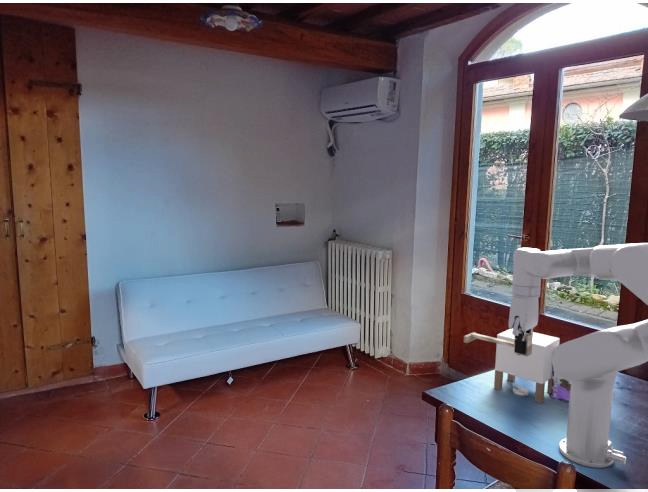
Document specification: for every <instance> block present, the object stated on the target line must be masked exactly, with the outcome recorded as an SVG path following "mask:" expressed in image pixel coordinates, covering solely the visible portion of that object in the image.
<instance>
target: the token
mask: <svg viewBox="0 0 648 492" xmlns="http://www.w3.org/2000/svg"><path fill="white" fill-rule="evenodd" d="M512 392H513V394H514V395H515V396H520V397H527V396H529V394H530V393H529V392H530V391H529V389H528V388H525V387H520V386H515V387H513V388H512Z"/></svg>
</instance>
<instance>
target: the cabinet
mask: <svg viewBox="0 0 648 492" xmlns="http://www.w3.org/2000/svg"><path fill="white" fill-rule="evenodd" d="M512 331H513V329H510V328H509V329H506V330H505V331H502V332H499V333H498V334H496V336H497V337H496V338H498V339H502V340H506V341H510V342H514V337H515V336H514V335H513V334H512ZM559 345H560V337H557V336H552V335H547V334H544V333H539V332H534V331H533V337H532V354H531V355H529V356H523V355H519V354H515V353H514V347H510V346H506V345H502V344H498V343H496V349H495V351H496V352H495V366H494V379H493V380H494V381H493V382H494V383H493V388H494V387H495V388H494V389H496V388H498V389H497V390H499V389H500V390H502V389H503V383H504V382H503V381H504V373H505V374H507V381H511V382H514V381H515V380H516V377H518V378H521V379H525V380H527V381H531V382H533V383H535V394H534V402H536V403H539V404H543V402H544V399H545V384H546V382H547V390H546V393H549V394H551V391H552V378H553V364H552V356H553V353H554V351H555V349H556V348H557V347H558V346H559Z"/></svg>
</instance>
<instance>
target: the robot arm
mask: <svg viewBox="0 0 648 492" xmlns="http://www.w3.org/2000/svg"><path fill="white" fill-rule="evenodd" d="M512 270H513V273H512V286H511V287H512V288H511V289H512V292H511V295H512V297H511V302H510V306H509V315H508V316H509V317H508V328H509V329H513V331H512V334H513V335H514V336H515V352H516V353H520V354H524V355H525V354H526V345H527V341H525V339H526V333H529V334H533V332H534V329H535V327H536V326H538V324H539V323H538V322H539V305H540V304H539V298H540V297H541V286H542V283H541V282H542V279H543V280H548V279H555V278H564V277H576V276H579V277H580V276H582V277H583V276H593V277H595V278H596V279H598V280H602V281H619V282H620V283H621V284H622V285H623V286H624V287H625V288H627V289H628V290H629V291H630V292H631V293H633V294H634V295H635V296H636V297H637V298H638V299H640V300H641V301H642V302H643V303H644V304H645V305H647V306H648V242H639V243H638V242H637V243H623V244H608V245H607V244H605V245H596V246H594V247H585V248H568V249H555V250H554V249H553V250H545V251H541V249H539V248H536V247H535V248H532V247H519V248H516V249H515V251H514V253H513V269H512ZM519 332H522V333H523V334H521V333H519ZM532 337H533V336H532ZM647 362H648V318H647V319H645V320H642V321H638V322H635V323H630V324H624V325H617V326H614V327H608V328H603V329H601V330H597V331H594V332H591V333H589V334H585V335H582V336H580V337H577V338H574V339H571V340H568V341H565V342H563V343H560V344H559V346H558V347H557V348H556V349H555V351H554V353H553V356H552V364H553V367H554V369H555V371H556V372H557V373H558V374H559V375H560V376H561V377H563V378H564V379H566V380H569V381H572V383H571V389H570V400H569V402H568V411H567V412H568V414H567V423H566V425H567V426H566V437H565V438H563V439H561V440H560V441H559V443H558V447H559V448H558V450H559V451H560V453H561V454H562V455H563V456H564V457H565V458H566V459H568V460H570V461H571V462H573V463H575V464H579V465H582V466H585V467H590V468H595V469H596V468H598V469H601V468H603V469H604V468H607V467H610V466H612V465H613V463H614V461H615V462H617V463H618V464H621V465H626V463H627V456H625V455H624V451H621V450H620V449H619V450H618V449H615V448H614V447H612V444H613V443H612V441H611V440H609V437H610V436H609V435H610V426H611V417H612V407H613V405H612V404H613V396H614V389H615V383H616V379H617V377H618V373H619V372H621V371H624V370H629V369H631V368H634V367H637V366H641V365H643V364H645V363H647Z"/></svg>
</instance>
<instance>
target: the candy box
mask: <svg viewBox="0 0 648 492" xmlns="http://www.w3.org/2000/svg"><path fill="white" fill-rule="evenodd" d="M571 383H572V381H569V380H566V379H564V378H563V377H561V376H560V375H559V374H558V373H557V372H556V371H555V369H554V367H553V378H552V391H551V393H550V397H551V398H552V399H555V400H560V401H563V402H566V403H569V400H570V389H571Z"/></svg>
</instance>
